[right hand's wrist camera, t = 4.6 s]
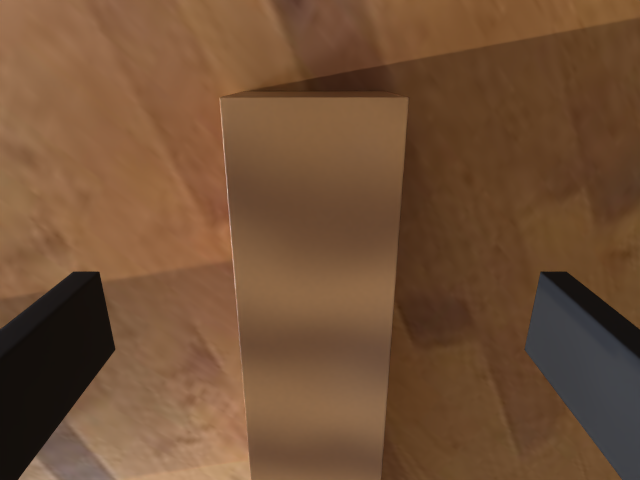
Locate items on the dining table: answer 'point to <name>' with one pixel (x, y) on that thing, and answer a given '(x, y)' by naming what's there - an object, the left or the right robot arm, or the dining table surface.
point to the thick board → (315, 273)
